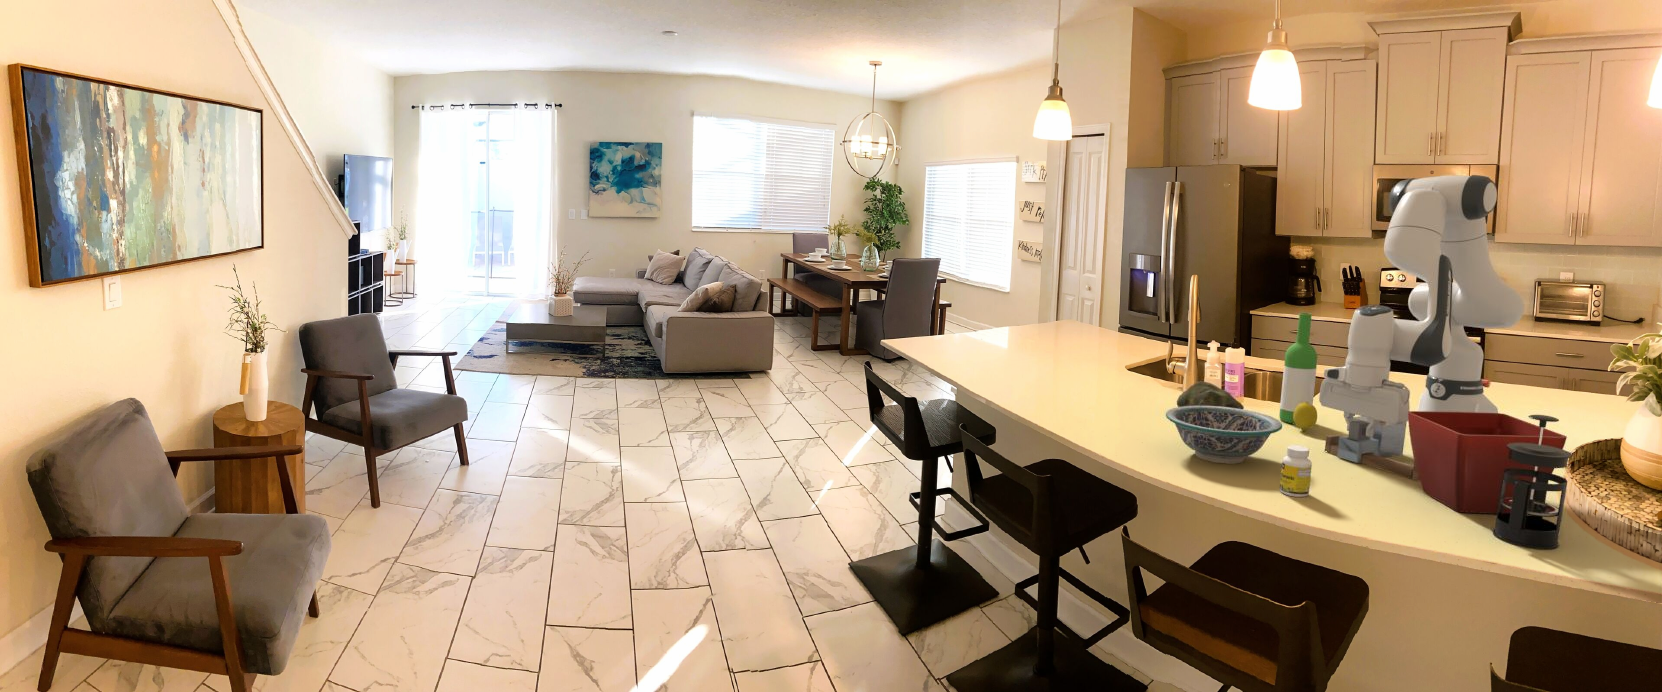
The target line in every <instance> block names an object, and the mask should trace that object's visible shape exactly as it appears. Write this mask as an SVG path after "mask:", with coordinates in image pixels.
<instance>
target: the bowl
mask: <svg viewBox="0 0 1662 692" xmlns="http://www.w3.org/2000/svg"><path fill="white" fill-rule="evenodd" d="M1165 418H1166V419H1168V421H1170V422H1171V423H1174V425H1175V427H1176V429H1177V432H1178V434H1179V436H1180V439H1181V440H1182V442H1183V443H1184V444H1185V445H1186V446H1187V447H1188V448H1190V449H1191V450H1193V451H1194V454H1195V456H1196V457H1197V458H1198V459H1201V460H1204V461H1206V462H1210V461H1211V463H1215V462H1216V463H1217V464H1224V463H1225V464H1226V465H1228V464H1229V465H1230V464H1231V465H1232V464H1240V463H1243V462H1244V461H1245V457H1249V456H1252V455H1254V454H1255V453H1257V452H1258V451H1259V450H1260V449H1262V447H1263V446H1264V444H1265V443H1266V441H1267V440H1268V438H1269V437H1270V436H1271V435H1272V434H1275V433H1277V432H1280V431H1281V430H1282V429H1283V424H1282V422H1281V421H1279V420H1278V419H1277V418H1275V417H1273V416H1271V415H1268V414H1265V413H1261V412H1256V411H1252V410H1248V409H1237V408H1229V407H1219V406H1183V407H1178V406H1177V407H1174V408H1171V409H1168V410H1167V411H1166V413H1165Z"/></svg>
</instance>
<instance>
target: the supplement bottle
mask: <svg viewBox="0 0 1662 692" xmlns="http://www.w3.org/2000/svg"><path fill="white" fill-rule="evenodd" d="M1286 454H1287V455H1286V456H1284V457H1283V458H1282V462H1281V470H1280V471H1281V472H1280V479H1279V480H1280V481H1279V491H1280V492H1281V493H1282V494H1283V493H1284V494H1283V495H1286V496H1288V497H1289V496H1290V497H1295V498H1303V497H1307V496H1309V494H1310V486H1311V485H1310V484H1311V474H1312V466H1313V463H1312V461H1311V459H1309V458H1308V457H1309V456H1310V449H1309V447H1305V446H1301V445H1288V446H1287V450H1286Z"/></svg>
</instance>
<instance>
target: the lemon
mask: <svg viewBox="0 0 1662 692" xmlns="http://www.w3.org/2000/svg"><path fill="white" fill-rule="evenodd" d="M1293 419H1294V422H1295V424H1294V425H1295V426H1296V427H1298V428H1299V429H1300V430H1301V431H1302V430H1303V432H1306V431H1307V430H1309V429H1312V428H1313V427H1315V425H1316V423H1317V421H1318V411H1317V408H1316V407H1315V405H1314V404H1313V405H1312V404H1310V403H1309V402H1304V403H1301V404H1299V405H1298V406H1297V407H1296V408H1295V411H1294V414H1293Z"/></svg>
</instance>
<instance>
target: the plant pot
mask: <svg viewBox="0 0 1662 692" xmlns="http://www.w3.org/2000/svg"><path fill="white" fill-rule="evenodd" d="M1407 423H1408V430H1409V431H1408V432H1409V437H1410V445H1411V452H1412V455H1413V459H1414V461H1415V465H1416V469H1417V472H1418V476H1419V479H1420V480H1419V482H1420V486H1421V488H1422V491H1423V493H1424V494H1426V495H1428V496H1430V497H1432V498H1433V499H1435V500H1436V501H1438V502H1441V503H1442V504H1444V505H1446V506H1447V507H1449V508H1450V509H1453V510H1454V511H1456V512H1459V513H1470V514H1471V513H1477V514H1496V515H1497V511H1498V504H1499V497H1500V490H1501V483H1502V476H1503V470H1505V469H1509V468H1522V469H1531V470H1535V466H1531V465H1526V464H1522V463H1518V462H1516V461H1513V460H1511V459H1509V450H1510V449H1508V448H1507V444H1510V443H1532V444H1538V443H1539V437H1540V430H1541V427H1539V425H1536V424H1534V423H1531V422H1528V421H1525V420H1522V419H1519V418H1517V417H1514V416H1512V415H1509V414H1505V413H1501V412H1498V413H1478V412H1431V411H1417V410H1416V411H1415V410H1411V411H1409V412H1408V421H1407ZM1567 437H1568V435H1567V436H1566V435H1564V434H1561V433H1559V432H1556V431H1553V430H1550V429H1548V428H1543V434H1542V441H1541V445H1546V446H1551V447H1555V448H1559V449H1562V450H1564V447H1565V444H1566V441H1567ZM1414 461H1413V462H1414ZM1537 470H1538V471H1543V472H1547V473H1551V474H1554V471H1555V468H1544V467H1537ZM1510 476H1512V477H1515V478H1518V479H1522V480H1526V481H1531V482H1533V477H1530V476H1521V475H1510ZM1536 479H1537V477H1536ZM1535 482H1536V480H1535ZM1514 486H1515V485H1513V484H1510V483H1508V482H1506V488H1505V494H1504V498H1513V492H1514ZM1534 492H1535V490H1534ZM1530 496H1531V490H1530ZM1530 496H1529V499H1530ZM1533 498H1534V493H1533ZM1510 512H1511V510H1509V509H1507V508H1505V507H1504V506H1503V508H1502V513H1510Z"/></svg>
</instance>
